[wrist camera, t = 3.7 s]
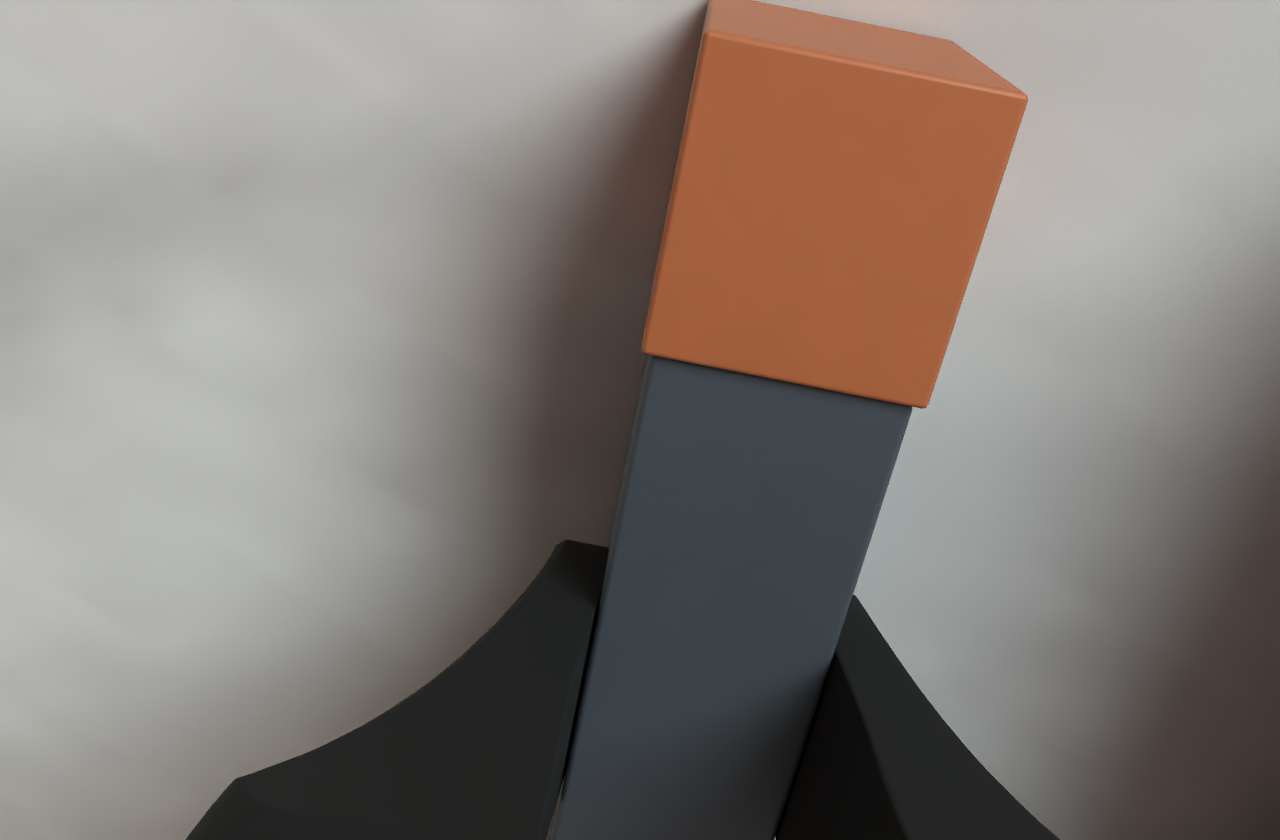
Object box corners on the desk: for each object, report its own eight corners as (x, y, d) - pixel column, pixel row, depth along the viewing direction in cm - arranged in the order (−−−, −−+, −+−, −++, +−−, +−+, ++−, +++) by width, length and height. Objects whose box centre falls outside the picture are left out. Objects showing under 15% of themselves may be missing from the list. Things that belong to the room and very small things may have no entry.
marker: (688, 950, 19) (681, 1160, 16) (527, 919, 19) (487, 1125, 16) (956, 41, 13) (1032, 95, 9) (710, -9, 13) (703, 29, 9)
